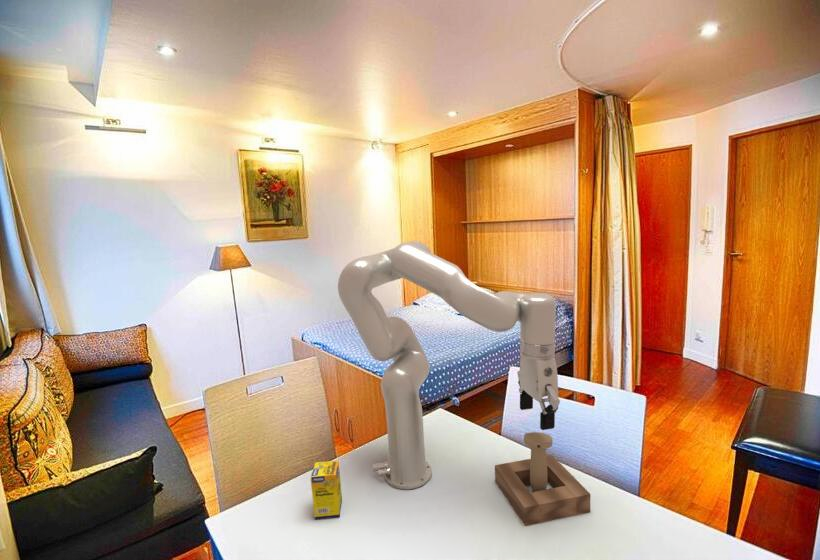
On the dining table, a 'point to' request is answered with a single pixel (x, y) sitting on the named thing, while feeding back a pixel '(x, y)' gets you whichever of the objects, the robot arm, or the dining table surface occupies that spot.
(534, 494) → the socket block
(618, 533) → the dining table surface
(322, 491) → the supplement box
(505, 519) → the dining table surface
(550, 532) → the dining table surface
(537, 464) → the handle
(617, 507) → the dining table surface
